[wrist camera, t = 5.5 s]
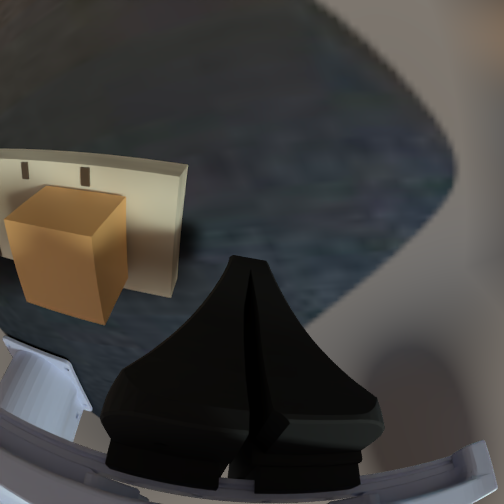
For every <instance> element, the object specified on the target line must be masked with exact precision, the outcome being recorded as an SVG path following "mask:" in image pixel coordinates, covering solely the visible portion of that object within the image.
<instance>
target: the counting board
mask: <svg viewBox="0 0 504 504" xmlns="http://www.w3.org/2000/svg"><path fill="white" fill-rule="evenodd" d="M187 170H188V165H186V164H179V163H173V162H166V161H158V160H151V159H143V158H134V157H126V156H117V155H107V154H96V153H85V152H72V151H57V150H37V149H2V148H0V256H2V257H5V258H9V259H12V260H14V259H13V256H12V252H11V248H10V244H9V240H8V236H7V232H6V227H5V223H4V219H5V218H6V217H7V216H8V215H9V214H11V213H12V212H13V211H14V210H15V209H17V208H18V207H19V206H20V205H22V204H23V203H24V202H25V201H27V200H28V199H29V198H30V197H32V196H33V195H34V194H36V193H37V192H38V191H40V190H41V189H42V188H44V187H45V186H53V187H60V188H68V189H76V190H83V191H90V192H97V193H104V194H111V195H118V196H125V197H126V240H127V264H128V279H127V281H126V283H125V285H124V287H123V288H126V289H130V290H135V291H140V292H145V293H149V294H154V295H159V296H164V297H169V298H171V296H172V293H173V290H174V287H175V284H176V281H177V275H178V260H179V247H180V235H181V224H182V214H183V205H184V195H185V187H186V178H187Z"/></svg>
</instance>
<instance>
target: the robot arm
mask: <svg viewBox="0 0 504 504" xmlns="http://www.w3.org/2000/svg"><path fill="white" fill-rule="evenodd" d="M3 341H4V343H5V345H6V346H7V348H8V350H9V352H10V354H11V355H12V357H13V359H12V361H11V363H10V364H9V366H8V368H7V370H6V372H5V374H4V376H3V378H2V380H1V382H0V504H160V503H154V502H149V499H148V498H146V497H144V496H142V495H140V494H139V493H140V491H139V490H138V489H137V488H134V487H131V486H128V485H125V484H122V483H119V482H117V481H120V482H123V483H127V484H131V485H135V486H138V487H142V488H147V489H151V490H155V491H160V492H165V493H170V494H176V495H181V496H188V497H195V498H202V499H210V500H219V501H231V502H249V503H298V502H314V501H326V500H335V499H342V500H337V501H332V502H329V503H328V504H472V503H474V502H476V501H478V500H480V499H482V498H483V497H485V496H487V495H489V494H490V493H492V492H493V491H495V490H497V488H498V486H497V482H496V478H495V474H494V470H493V466H492V463H491V459H490V456H489V452H488V449H487V446H486V443H485V441H484V440H481V441H478V442H475V443H473V444H470V445H467V446H465V447H463V448H462V449H460V450H458V451H456V452H455V453H453V454H452V455H451V456H448V457H445V458H442V459H439V460H435V461H431V462H428V463H423V464H420V465H415V466H411V467H407V468H402V469H397V470H393V471H387V472H381V473H375V474H369V475H362V476H360V475H359V467H358V463H360V462H361V461H362V454H361V450H362V449H364V448H365V447H367V446H368V445H370V444H371V443H372V442H374V441H375V440H376V439H377V438H378V437H379V436H381V434H382V433H383V431H384V429H385V426H384V422H383V417H382V413H381V409H380V406H379V403H378V400H377V397H375V396H374V395H373V394H371V393H370V392H368V391H367V390H366V389H364V388H363V387H362V386H360V385H359V384H358V383H356V382H355V381H354V380H353V379H351V378H350V377H349V376H348V375H347V374H346V373H345V372H343V371H342V370H341V369H340V368H339V367H338V366H337V365H336V364H335V363H334V362H333V361H332V360H331V359H330V358H329V357H328V356H327V355H326V354H325V353H324V352H323V351H322V350H321V349H320V348H319V347H318V345H317V344H316V343H315V342H314V341H313V340H312V338H311V337H310V336H309V335H308V333H307V332H306V331H305V329H304V328H303V327H302V325H301V324H300V322H299V321H298V319H297V318H296V316H295V315H294V313H293V311H292V310H291V308H290V307H289V305H288V303H287V301H286V300H285V298H284V296H283V294H282V292H281V290H280V288H279V287H278V284H277V282H276V280H275V278H274V276H273V274H272V272H271V269H270V267H269V265H268V263H267V261H264V260H258V259H253V258H247V257H241V256H236V255H232V256H231V257H230V258H229V262H228V265H227V267H226V269H225V271H224V273H223V275H222V276H221V278H220V280H219V281H218V283H217V284H216V286H215V287H214V289H213V290H212V292H211V293H210V294H209V296H208V297H207V298H206V300H205V301H204V302H203V303H202V305H201V306H200V307H199V308H198V309H197V310H196V312H195V313H194V314H193V315H192V316H191V317H190V318H189V319H188V320H187V321H186V322H185V323H184V324H183V325H182V326H181V327H180V328H179V329H178V330H177V331H175V332H174V333H173V334H172V335H171V336H170V337H169V338H167V339H166V340H165V341H163V342H162V343H161V344H159V345H158V346H157V347H156V348H154V349H153V350H152V351H150V352H149V353H147V354H146V355H144V356H143V357H141V358H140V359H138V360H137V361H135V362H133V363H132V364H130V365H129V366H127V367H125V368H124V369H122V371H121V372H120V373H119V375H118V376H117V378H116V380H115V381H114V383H113V385H112V386H111V388H110V390H109V392H108V394H107V396H106V399H105V402H104V405H103V408H102V412H101V415H100V420H101V423H102V425H103V426H104V428H105V430H106V431H107V433H108V435H109V437H110V438H111V441H110V445H109V448H108V453H107V454H105V453H102V452H99V451H96V450H93V449H90V448H88V447H85V446H82V445H79V444H77V443H74V442H73V440H74V437H75V433H76V431H77V427H78V424H79V421H80V418H81V415H82V412H83V409H84V410H87V411H92V406H91V404H90V402H89V400H88V399H87V397H86V395H85V393H84V391H83V389H82V386H81V384H80V382H79V380H78V378H77V376H76V374H75V371H74V369H73V367H72V365H71V363H70V362H69V361H68V360H66V359H63V358H60V357H58V356H55V355H52V354H49V353H47V352H44V351H41V350H39V349H36V348H34V347H31V346H29V345H26V344H24V343H22V342H19V341H17V340H15V339H12V338H10V337H8V336H4V337H3ZM228 464H229V471H228V478H221V475H222V473H223V472H224V470H225V469H226V467H227V465H228ZM106 477H107V478H106ZM109 478H110V479H109ZM111 479H113V480H111ZM114 480H117V481H114ZM343 498H347V499H343Z"/></svg>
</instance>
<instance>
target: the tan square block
mask: <svg viewBox="0 0 504 504" xmlns="http://www.w3.org/2000/svg"><path fill="white" fill-rule="evenodd" d="M4 223H5V227H6V232H7V236H8V240H9V244H10V248H11V252H12V256H13V259H14V263H15V266H16V270H17V273H18V276H19V280H20V283H21V286H22V289H23V292H24V295H25V297H26V300H27V302H29V303H32V304H35V305H38V306H41V307H44V308H47V309H50V310H54V311H57V312H60V313H63V314H67V315H70V316H73V317H77V318H80V319H84V320H87V321H91V322H94V323H98V324H102V325H105V324H106V322H107V320H108V318H109V316H110V313H111V311H112V309H113V307H114V305H115V303H116V301H117V299H118V297H119V295H120V293H121V291H122V289H123V287H124V285H125V283H126V281H127V279H128V264H127V240H126V197H125V196H118V195H111V194H104V193H97V192H90V191H83V190H76V189H68V188H60V187H53V186H45V187H44V188H42V189H41V190H40V191H38V192H37V193H36V194H34V195H33V196H32V197H30V198H29V199H28V200H27V201H25V202H24V203H23V204H22V205H20V206H19V207H18V208H17V209H15V210H14V211H13V212H12V213H11V214H9V215H8V216H7V217H6V218H5V219H4Z"/></svg>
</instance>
